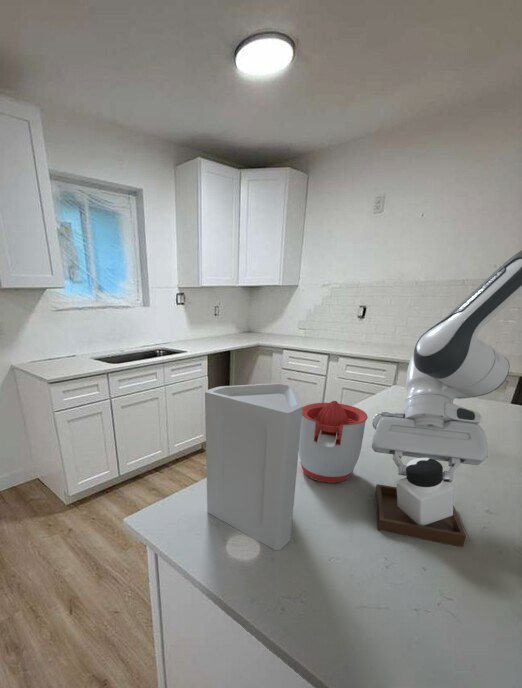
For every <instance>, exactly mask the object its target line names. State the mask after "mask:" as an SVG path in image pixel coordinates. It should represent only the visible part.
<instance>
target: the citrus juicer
mask: <svg viewBox="0 0 522 688" xmlns="http://www.w3.org/2000/svg"><path fill="white" fill-rule="evenodd" d="M368 418H369V417H368V414H367V413H366V412H365V411H364V410H362V409H360V408H359V407H356V406H353V405H348V404H344V403H339V402H338V401H337V400H332V401H331V402H315V403H310V404H307V405H303V408H302V419H301V430H300V441H299V452H298V457H299V462H300V466H301V469H302V471H303V473H304V474H305V475H306V476H307V477H308V476H309V477H308V478H310V479H312V480H315V481H318V482H321V483H329V484H330V483H333V484H334V483H341V482H345V481H346V480H347V479H349V477H351V475H352V473H353V472H354V469H355V467H356V466H357V463H358V460H359V458H360V454H361V451H362V446H363V439H364V434H365V428H366V421H367V420H368Z"/></svg>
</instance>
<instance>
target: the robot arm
mask: <svg viewBox="0 0 522 688" xmlns="http://www.w3.org/2000/svg"><path fill="white" fill-rule="evenodd" d="M521 295H522V249H520V250H519V251H518V252H516V253H515V254H514V255H513V256H511V257H510V258H509V259H508V260H506V261H505V262H504V263H503V264H502V265H501V266H500V267H498V268H497V269H496V270H495V271H494V272H492V274H491V275H489V276H488V277H487V278H486V279H485V280H484V281H483V282H482V283H481V284H480V285H479V286H478V287H477V288H475V290H474V291H472V293H470V294H469V295H468V296H467V297H466V298H465V299H464V300H463V301H462V302H461V303H460V304H458V306H456V307H455V308H454V309H453V310H452V311H451V312H450V313H448V314H447V316H445V317H444V318H443V319H441V320H440V321H439V322H438V323H435V324H434V325H433V326H431V327H430V328H429V329H428V330H426V331H425V332H424V333H423V334H421V335H420V337H419V338H418V340H417V341H416V343H415V346H414V348H413V349H414V350H413V354H412V356H411V358H410V359H409V363H408V365H407V366H408V367H407V372H406V378H405V390H406V393H407V394H406V397H405V400H404V406H403V407H404V408H403V413H402V412H401V413H400V412H388V411H381V412H379V413H377V414H375V415H374V416H373V419H372V428H373V429H374V434H373V436H372V442H371V449H372V450H373V452H375V453H378V454H385V455H392V460H393V462H394V463H395V465H396V467H397V475H398V476H404V477H406V465H407V464H406V465H405V464H404V462H403V461H402V458H403V457H408V458H409V457H410V458H415V459H416V458H430V459H434V460H436V461H438V462H439V461H440V462H447V463H448V467H450V468H449V470H443V481H444V482H446V483H452V482H453V480H454V473H455V471H456V470H458V468H459V467H460V466H461V464H463V465H471V466H479V465H481V464H482V463H484V462H485V461H487V459H488V456H489V446H488V440H487V439H488V438H487V434H486V431H485V429H484V428H483V427H482V426H481V425H479V424H480V423H481V421H482V414H481V413H480V412H478V411H474V410H472V409H469V408H466V407H463V406H460V405H458V404H455V403H454V400H455V399H457V400H459V399H460V400H461V399H470V398H471V399H472V398H476V397H477V398H478V397H481V396H485V395H488V394H490V393H492V392H494V391H496V390H497V389H499V388H500V387H501V386H502V385H503V384H504V382H505V381H506V380H507V378H508V375H509V373H510V367H511V366H510V365H511V364H510V361H509V360H508V358H507V357H506V356H504V354H502V353H501V352H499V351H498V350H497V349H496V348H494V347H493V346H491V345H489V344H487V343H486V342H484V341H483V340H481V339H480V338H478V334H479V333H480V331H481V329H483V328H484V327H485V326H486V325H487V324H488V323H490V321H492V320H493V319H494V318H495V317H496V316H497V315H498V314H500V312H502V311H503V310H504V309H506V308H507V307H508V306H509V304H511V303H512V302H513V301H514V300H515V299H517V298H518V297H519V296H521Z"/></svg>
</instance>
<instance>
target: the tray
mask: <svg viewBox="0 0 522 688" xmlns="http://www.w3.org/2000/svg"><path fill="white" fill-rule="evenodd" d="M374 498H375V499H374V500H375V511H376V512H375V513H376V523H377V525H376V526H377V531H380V532H384V533H385V532H386V533H388V534H389V533H390V534H395V535H400V536H405V537H408V538H409V537H410V538H414V539H420V540H424V541H430V542H434V543H441V544H445V545H450V546H456V547H459V548H460V547H461V548H464V545H465V542H466V540H467V534H466V532H465V529H464V527H463V524H462V522H461V520H460V517H459V514H458V512H457V510H456V508H455V505H454V504H453V515H452V516H450V517H447V518H444V519H441V520H438V521H436V522H433V523H430V524H427V525H424V526H421V525H418V524H417V523H416V522H415V521H413V520H412V519H411V518H410V517H409V516H408V515H407V514H406V513H405V512H403V511H402V510H401V509H400V508H399V507H398V506H397V486H391V485H384V484H378V483H376V486H375V492H374Z"/></svg>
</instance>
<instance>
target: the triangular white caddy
mask: <svg viewBox="0 0 522 688" xmlns="http://www.w3.org/2000/svg"><path fill="white" fill-rule="evenodd" d="M303 407H304V405H303V402H302V401H301V399H300V396H299V394H298V392H297V390H296V388H295V386H294V385H293V384H290V383H285V382H274V383H273V382H272V383H255V384H239V385H237V384H236V385H221V386H216V387H212V388H209V389H206V390H204V415H205V419H204V421H205V452H206V453H205V461H206V462H205V465H206V509H207V513H208V514H210V516H211V515H212V517H215V518H217V519H218V520H220V521H222V522H223V523H226V524H227V525H229V526H231V527H232V528H235V529H236V530H238V531H240V532H242V533H243V534H245V535H247V536H249V537H250V538H253V539H254V540H256V541H258V542H260V543H261V544H263V545H265V546H267V547H269V548H271V549H272V550H274V551H280V550H282V549H283V548H284V547H285V546H286V545H287V544H289V543H290V541H291V537H292V528H293V527H292V526H293V517H294V516H293V515H294V506H295V496H296V495H295V493H296V484H297V483H296V482H297V471H298V463H299V462H298V461H299V441H300V430H301V419H302V408H303Z"/></svg>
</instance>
